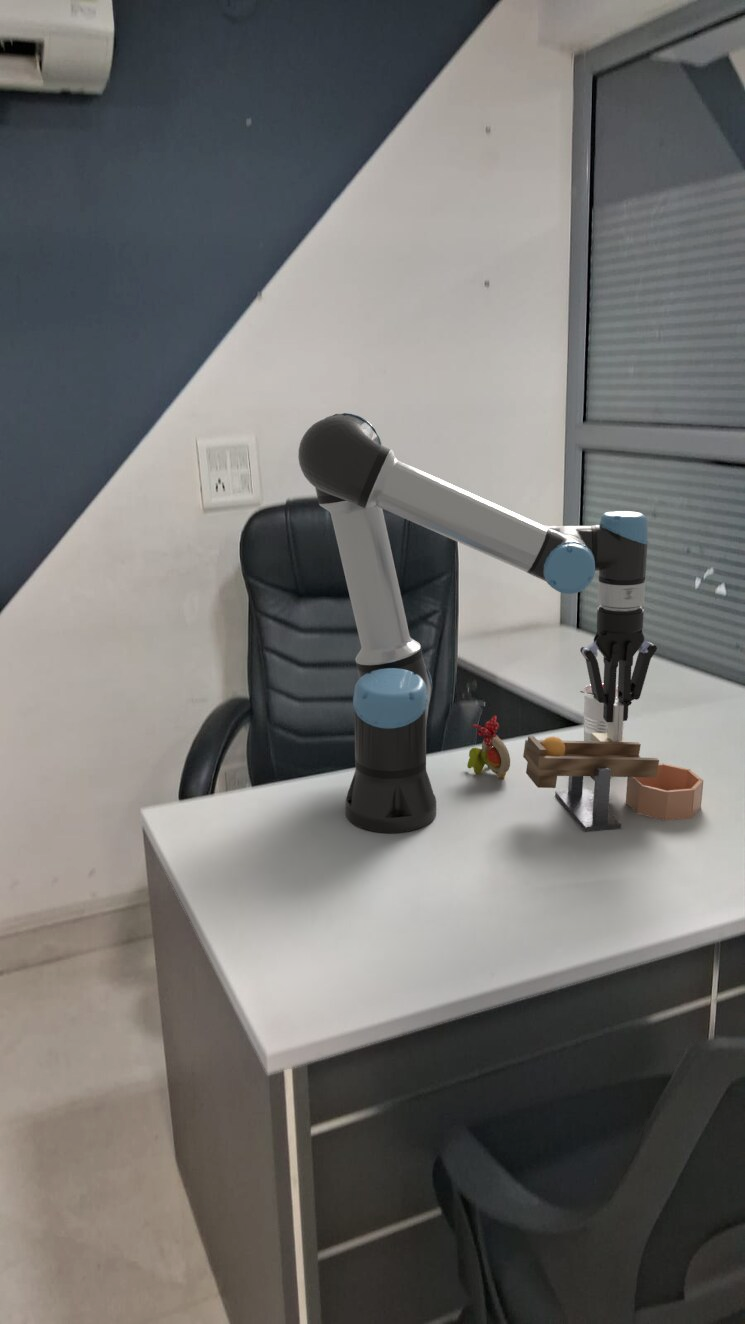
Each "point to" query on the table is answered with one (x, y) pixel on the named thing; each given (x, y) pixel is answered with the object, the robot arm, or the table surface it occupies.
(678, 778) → the terracotta octagonal bowl
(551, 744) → the ball
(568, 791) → the lever stand
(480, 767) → the bird rattle
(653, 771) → the lever
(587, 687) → the white ridged hollow cylinder
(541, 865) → the table surface
